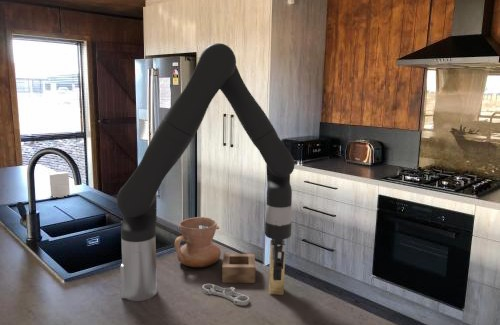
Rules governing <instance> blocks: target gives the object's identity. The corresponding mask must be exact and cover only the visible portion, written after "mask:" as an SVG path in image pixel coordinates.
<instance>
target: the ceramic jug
mask: <svg viewBox="0 0 500 325" xmlns="http://www.w3.org/2000/svg"><path fill="white" fill-rule="evenodd" d="M217 224H218V222H217V220H216V219H213V218H211V217H208V216H197V217H190V218H186V219H183V220H182V221H180V222H179V230H180V233H181V235H179V236H178V237H176V238H175V239H174V240H175V241H174V249H175V253H176V256H177V260H178V261H179V263H180V264H182V265H183V266H186V267H191V268H206V267H209V266H211V265H213V264H215V263H217V262H218V261H219V259H220V257H221V255H222V254H221V249H220V247H219V246H218V245H217V244H215V243H214V242H212V241H213V239H214V236H215V235H216V231H217V230H219V229H220V226H219V225H217ZM200 226H202V227H201V228H200ZM203 226H204V227H203ZM182 242H185V244H184V245H182V246H181V243H182Z"/></svg>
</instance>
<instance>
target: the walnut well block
mask: <svg viewBox="0 0 500 325" xmlns="http://www.w3.org/2000/svg"><path fill="white" fill-rule="evenodd" d="M255 254H256V253H223V259H222V266H221V274H222V275H221V277H222V278H221V279H222V280H221V282H222V283H231V284H232V283H233V284H235V283H236V284H238V283H240V284H241V283H244V284H245V283H246V284H247V283H250V284H252V283H253V284H254V283H256V257H255V256H256V255H255Z"/></svg>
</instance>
